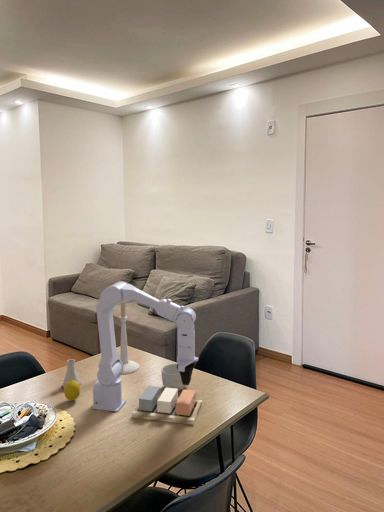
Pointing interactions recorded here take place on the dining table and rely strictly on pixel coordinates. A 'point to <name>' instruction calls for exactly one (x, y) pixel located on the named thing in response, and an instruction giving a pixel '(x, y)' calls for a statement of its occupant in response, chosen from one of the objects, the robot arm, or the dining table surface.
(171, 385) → the teacup
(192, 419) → the wooden tray
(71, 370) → the flask
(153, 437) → the dining table surface
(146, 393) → the grey rectangular block
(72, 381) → the lemon
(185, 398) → the terracotta key
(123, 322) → the candlestick
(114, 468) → the dining table surface
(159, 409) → the ivory key
